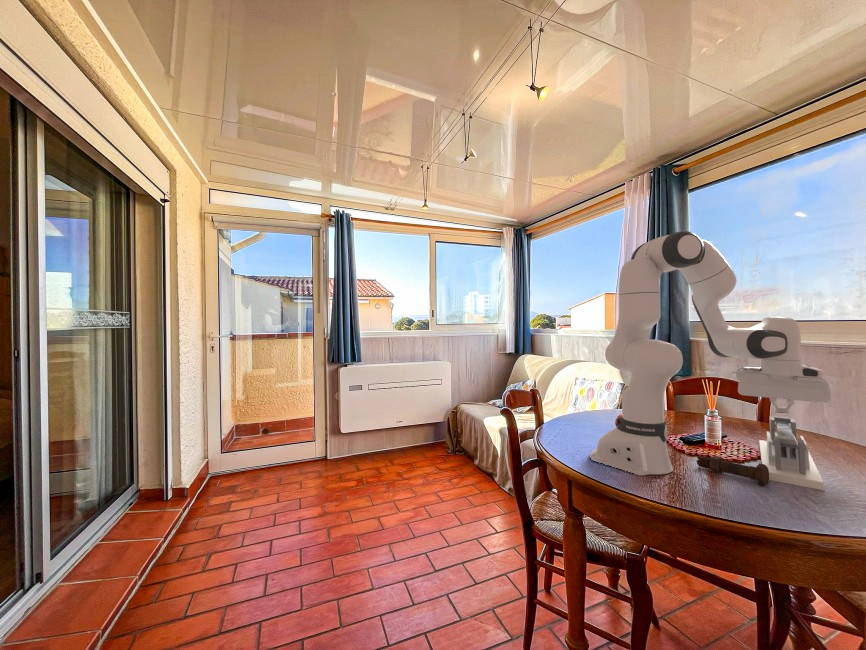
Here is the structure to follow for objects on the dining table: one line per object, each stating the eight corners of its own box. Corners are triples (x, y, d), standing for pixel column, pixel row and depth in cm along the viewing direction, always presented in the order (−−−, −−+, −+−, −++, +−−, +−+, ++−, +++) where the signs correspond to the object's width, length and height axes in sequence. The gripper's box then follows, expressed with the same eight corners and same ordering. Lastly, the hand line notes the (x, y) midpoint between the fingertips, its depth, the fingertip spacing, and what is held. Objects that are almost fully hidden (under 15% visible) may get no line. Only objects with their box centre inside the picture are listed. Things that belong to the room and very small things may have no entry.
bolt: (700, 472, 102) (768, 489, 90) (693, 468, 100) (763, 484, 87) (702, 453, 104) (769, 467, 92) (696, 448, 102) (764, 462, 89)
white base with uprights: (763, 478, 93) (761, 437, 93) (759, 445, 117) (758, 413, 117) (824, 490, 86) (821, 446, 86) (806, 452, 109) (805, 418, 109)
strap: (781, 446, 93) (781, 442, 93) (775, 424, 111) (775, 421, 111) (797, 448, 91) (797, 445, 91) (788, 426, 109) (788, 423, 109)
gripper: (735, 367, 110) (736, 409, 110) (832, 372, 97) (833, 420, 96) (736, 365, 115) (737, 406, 115) (828, 370, 101) (829, 416, 101)
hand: (781, 413), depth 106 cm, fingers closed
